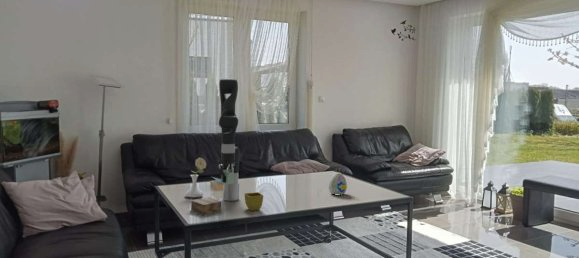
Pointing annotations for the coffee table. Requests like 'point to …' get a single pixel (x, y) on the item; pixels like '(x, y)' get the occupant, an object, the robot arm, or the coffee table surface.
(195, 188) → the flower in vase
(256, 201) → the flower pot
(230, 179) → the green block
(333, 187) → the decorative egg
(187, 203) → the coffee table surface
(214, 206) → the walnut box
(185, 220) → the coffee table surface
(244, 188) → the coffee table surface
